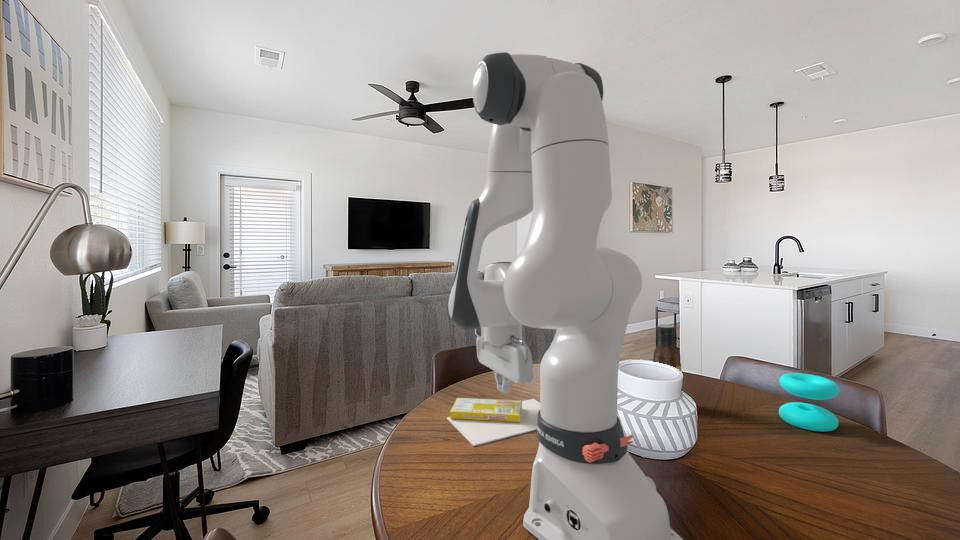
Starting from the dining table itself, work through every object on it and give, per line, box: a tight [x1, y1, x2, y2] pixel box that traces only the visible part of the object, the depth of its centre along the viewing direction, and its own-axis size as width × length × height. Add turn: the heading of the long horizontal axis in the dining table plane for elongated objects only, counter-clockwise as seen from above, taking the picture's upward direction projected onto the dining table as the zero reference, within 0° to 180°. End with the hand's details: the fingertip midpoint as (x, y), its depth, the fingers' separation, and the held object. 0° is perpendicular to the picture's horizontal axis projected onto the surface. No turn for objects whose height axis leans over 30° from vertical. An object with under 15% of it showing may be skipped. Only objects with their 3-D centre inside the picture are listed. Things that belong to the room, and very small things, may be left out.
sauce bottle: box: [652, 323, 682, 372], centre depth 96 cm, size 7×6×20 cm
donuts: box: [778, 372, 840, 433], centre depth 85 cm, size 10×10×10 cm
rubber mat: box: [446, 398, 540, 447], centre depth 89 cm, size 14×24×1 cm, turn 116°
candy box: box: [449, 397, 523, 422], centre depth 92 cm, size 16×2×8 cm
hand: (503, 391), depth 90 cm, fingers closed
